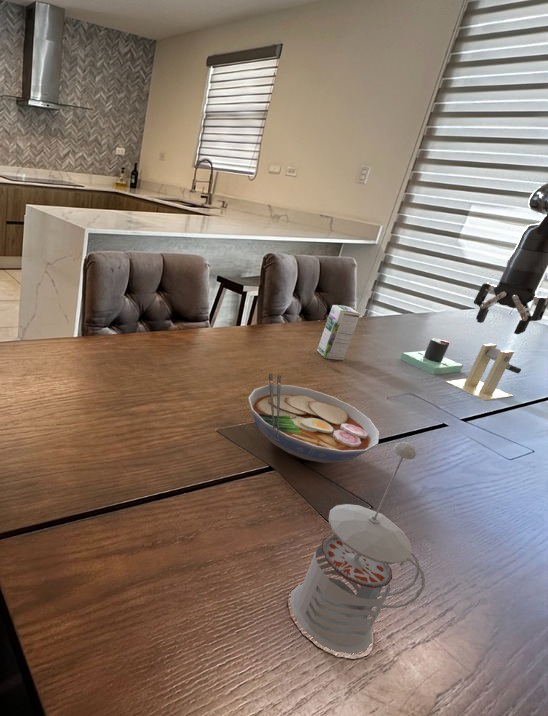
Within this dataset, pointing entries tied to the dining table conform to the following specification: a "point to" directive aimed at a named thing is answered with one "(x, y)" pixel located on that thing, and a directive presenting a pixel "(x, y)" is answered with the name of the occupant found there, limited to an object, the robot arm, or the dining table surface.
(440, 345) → the black sushi roll
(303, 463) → the dining table surface
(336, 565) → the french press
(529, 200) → the robot arm
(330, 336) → the syrup box
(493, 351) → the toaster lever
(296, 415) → the ramen bowl
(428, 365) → the panel
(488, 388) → the wooden stand
